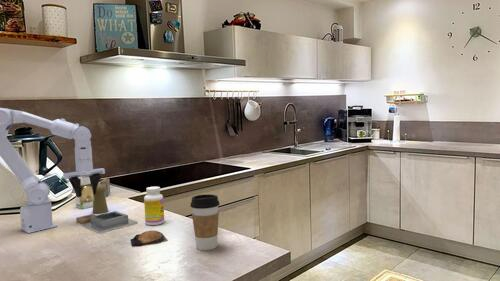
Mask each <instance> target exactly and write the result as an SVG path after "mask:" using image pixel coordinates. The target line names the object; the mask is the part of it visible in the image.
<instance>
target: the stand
mask: <svg viewBox="0 0 500 281" xmlns="http://www.w3.org/2000/svg"><path fill="white" fill-rule="evenodd" d="M96 215H97V214H93V213H91V214H87V215H83V216H78V217H75V218H76V219H75V220H76V223H79V224H81V225H82V224H84V223H88V222H91V218H90V217H92V216H96Z"/></svg>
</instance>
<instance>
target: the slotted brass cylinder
mask: <svg viewBox="0 0 500 281" xmlns="http://www.w3.org/2000/svg"><path fill="white" fill-rule="evenodd" d="M80 192H81V197H79V202H80V203H88V202H92V201H94V193H93V184H84V185H80Z"/></svg>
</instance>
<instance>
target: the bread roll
mask: <svg viewBox="0 0 500 281" xmlns="http://www.w3.org/2000/svg"><path fill="white" fill-rule="evenodd" d="M167 238H168V237H166V235H164V234H163V232H160V231H158V230H156V229H155V230H147V231H143V232H142V233H138V234H136V235H134V237H132V238H131V239H130V246H131V247H135V248H138V247H140V248H141V247H145V246H151V245H156V244H161V243H166V242H168V241H169V240H168V239H167Z"/></svg>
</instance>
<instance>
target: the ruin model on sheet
mask: <svg viewBox="0 0 500 281" xmlns="http://www.w3.org/2000/svg"><path fill="white" fill-rule="evenodd" d="M110 181H111V180H110V178H108V177H106V178H103V179H101V180H100V181H99V182H100V183H99V185H104V186H105V193H104V194H105V198H108V196H109V194H110V193H111V186H110V183H111V182H110Z"/></svg>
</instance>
